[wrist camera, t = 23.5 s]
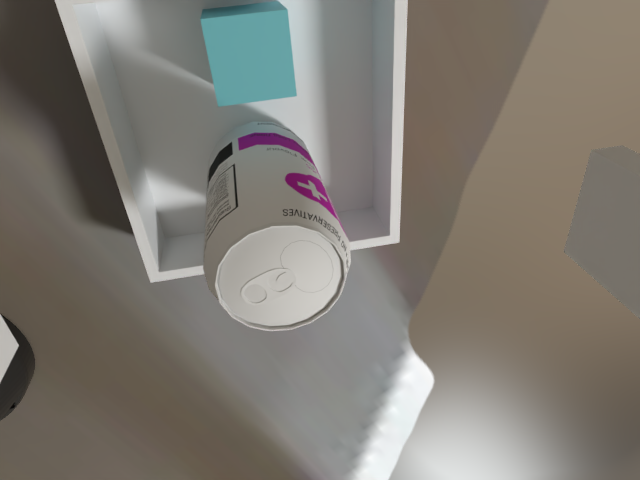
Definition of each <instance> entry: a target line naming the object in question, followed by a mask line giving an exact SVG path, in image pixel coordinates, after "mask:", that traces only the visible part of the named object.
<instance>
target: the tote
mask: <svg viewBox="0 0 640 480" xmlns="http://www.w3.org/2000/svg"><path fill="white" fill-rule="evenodd" d="M273 1H279V2H280V3H281V4H282V5H283V6H284V7H286V8H287V9H288V18H289V27H290V37H291V46H292V55H293V65H294V74H295V83H296V93H297V96H295V97H287V98H280V99H272V100H265V101H258V102H250V103H243V104H235V105H228V106H220V107H218V104H217V99H216V94H215V89H214V84H213V79H212V74H211V69H210V65H209V60H208V55H207V50H206V45H205V40H204V35H203V30H202V25H201V20H200V18H201V14H202V10H203V9H210V8H219V7H228V6H237V5H246V4H255V3H264V2H273ZM55 3H56V6H57V9H58V12H59V15H60V18H61V21H62V24H63V26H64V29H65V32H66V35H67V38H68V41H69V44H70V47H71V50H72V53H73V56H74V59H75V62H76V65H77V68H78V71H79V73H80V76H81V79H82V82H83V85H84V88H85V91H86V94H87V97H88V100H89V103H90V106H91V109H92V112H93V115H94V118H95V121H96V123H97V126H98V129H99V132H100V135H101V138H102V141H103V144H104V147H105V150H106V153H107V156H108V159H109V162H110V165H111V168H112V170H113V173H114V176H115V179H116V182H117V185H118V188H119V191H120V194H121V197H122V200H123V203H124V206H125V209H126V212H127V215H128V218H129V220H130V223H131V226H132V229H133V232H134V235H135V238H136V241H137V244H138V247H139V250H140V253H141V256H142V259H143V262H144V265H145V267H146V270H147V273H148V276H149V279H150V282H158V281H164V280H170V279H176V278H182V277H189V276H195V275H201V274H205V273H204V270H203V260H204V239H205V217H206V196H207V175H208V166H209V159H210V155H211V153H212V151H213V150H214V148H215V146H216V144H217V143H218V141H219V139H221V138H222V137H223V136H224V135H226V134H227V133H228V132H229V131H231V130H232V129H233V128H235V127H238V126H241V125H244V124H247V123H250V122H273V123H275V124H278V125H281V126H283V127H286V128H289V129H290V130H291V131H293V132H294V133H295V134H296V135H297V136H298V137H299V138H301V139H302V140H303V141H304V143H305V145H306V147H307V149H308V151H309V153H310V155H311V157H312V159H313V161H314V164H315V166H316V168H317V170H318V173H319V175H320V177H321V179H322V182H323V184H324V186H325V188H326V191H327V193H328V195H329V197H330V199H331V202H332V204H333V206H334V208H335V211H336V213H337V215H338V217H339V220H340V222H341V224H342V226H343V229H344V231H345V233H346V235H347V238H348V240H349V243H350V250H355V249H362V248H368V247H374V246H380V245H386V244H393V243H399V237H400V208H401V179H402V150H403V121H404V92H405V63H406V34H407V5H408V0H55Z"/></svg>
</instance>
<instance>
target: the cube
mask: <svg viewBox="0 0 640 480" xmlns="http://www.w3.org/2000/svg"><path fill="white" fill-rule="evenodd" d="M200 20H201V25H202V30H203V35H204V40H205V45H206V50H207V55H208V60H209V65H210V69H211V74H212V79H213V84H214V89H215V94H216V99H217V104H218V107H220V106H228V105H235V104H243V103H250V102H258V101H265V100H272V99H280V98H287V97H295V96H297V93H296V83H295V74H294V65H293V55H292V46H291V37H290V27H289V18H288V9H287V8H286V7H284V6H283V5H282V4H281V3H280V2H279V1H273V2H264V3H255V4H246V5H237V6H228V7H219V8H210V9H203V10H202V14H201V18H200Z"/></svg>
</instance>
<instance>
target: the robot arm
mask: <svg viewBox="0 0 640 480" xmlns="http://www.w3.org/2000/svg"><path fill="white" fill-rule="evenodd" d="M564 253H566V254H567V255H568V256H569V257H570V258H571V259H573V260H574V261H575V262H576V263H577V264H578V265H579V266H580V267H581V268H583V269H584V270H585V271H586V272H587V273H588V274H589V275H591V276H592V277H593V278H594V279H595V280H596V281H597V282H598V283H600V284H601V285H602V286H603V287H604V288H605V289H607V290H608V291H609V292H610V293H611V294H612V295H613V296H614V297H616V298H617V299H618V300H619V301H620V302H621V303H622V304H624V305H625V306H626V307H627V308H628V309H629V310H630V311H631V312H632V313H634V314H635V315H636V316H637V317H638V318H639V319H640V154H639V153H637V152H635V151H633V150H631V149H629V148H627V147H624V146H616V147H609V148H602V149H595V150H591V153H590V157H589V161H588V165H587V168H586V172H585V175H584V179H583V183H582V186H581V190H580V194H579V197H578V202H577V205H576V209H575V212H574V216H573V219H572V223H571V227H570V230H569V234H568V238H567V241H566V245H565V249H564ZM34 369H35V359H34V354H33V351H32V348H31V346H30V344H29V342H28V341H27V339H26V338H25V336H24V335H23V334H22V333H21V332H20V330H19V329H18V328H17V327H16V326H15V325H13V324H12V323H11V322H10V321H8V320H7V319H6V318H4V317H3V316H1V315H0V420H2V419H3V418H5V417H6V416H7V415H9V414H10V413H11V412H12V411H13V410H14V409H15V408H16V407H17V405H18V404H19V403H20V401H21V400H22V398H23V397H24V395H25V393H26V390H27V388H28V386H29V384H30V381H31V379H32V377H33V374H34Z"/></svg>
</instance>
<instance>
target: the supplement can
mask: <svg viewBox="0 0 640 480" xmlns="http://www.w3.org/2000/svg"><path fill="white" fill-rule="evenodd" d="M350 264H351V258H350V243H349V240H348V238H347V235H346V233H345V231H344V229H343V226H342V224H341V222H340V220H339V217H338V215H337V213H336V211H335V208H334V206H333V204H332V202H331V199H330V197H329V195H328V193H327V191H326V188H325V186H324V184H323V182H322V179H321V177H320V175H319V173H318V170H317V168H316V166H315V164H314V161H313V159H312V157H311V155H310V153H309V151H308V149H307V147H306V145H305V143H304V141H303V140H302V139H301V138H299V137H298V136H297V135H296V134H295V133H294V132H293V131H291V130H290V129H289V128H286V127H283V126H281V125H278V124H275V123H273V122H250V123H247V124H244V125H241V126H238V127H235V128H233V129H232V130H231V131H229V132H228V133H227V134H226V135H224V136H223V137H222V138H221V139H219V141H218V143H217V144H216V146H215V148H214V150H213V151H212V153H211V155H210V159H209V166H208V175H207V196H206V217H205V239H204V260H203V270H204V273H205V277H206V280H207V284H208V287H209V290H210V291H211V292H212V293H213V294H214V296H215V297H216V298H217V299H218V300H219V302H220V304H221V305H222V306H223V307H224V309H225V310H226V311H227V312H228V313H229V315H230V316H231V317H232V318H234V319H236V320H237V321H239V322H241V323H243V324H245V325H246V326H248V327H251V328H256V329H261V330H266V331H280V330H292V329H295V328H298V327H300V326H303V325H306V324H309V323H312V322H313V321H315V320H316V319H318V318H319V317H321V316H322V315H324V314H325V313H327V312H328V311H329V310H330V309H331V307H332V306H333V305H334V304H335V302H336V301H337V300H338V299H339V297H340V296H341V293H342V290H343V287H344V284H345V282H346V275H347V272H348V269H349V266H350Z"/></svg>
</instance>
